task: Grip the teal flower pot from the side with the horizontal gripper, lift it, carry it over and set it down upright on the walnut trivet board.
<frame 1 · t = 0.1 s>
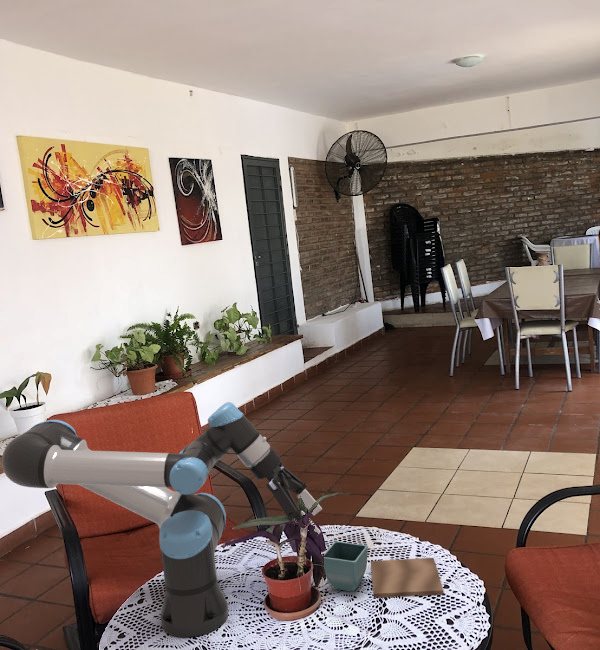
hand: (317, 523, 163), 15 cm above the table, tool tilted 35°, fingers open, 13 cm apart
flower pot: (347, 586, 162), on the table
walnut trivet: (405, 578, 163), on the table
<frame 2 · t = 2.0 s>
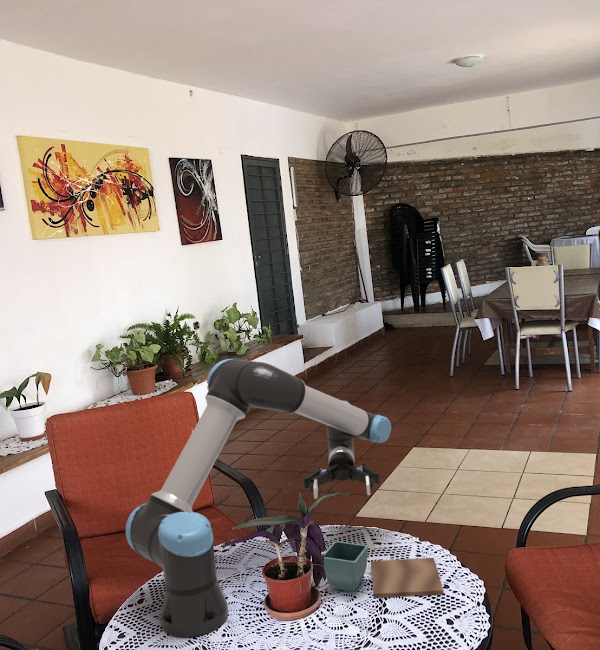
hand: (341, 491, 172), 19 cm above the table, tool horizontal, fingers open, 13 cm apart
nothing on the table moved.
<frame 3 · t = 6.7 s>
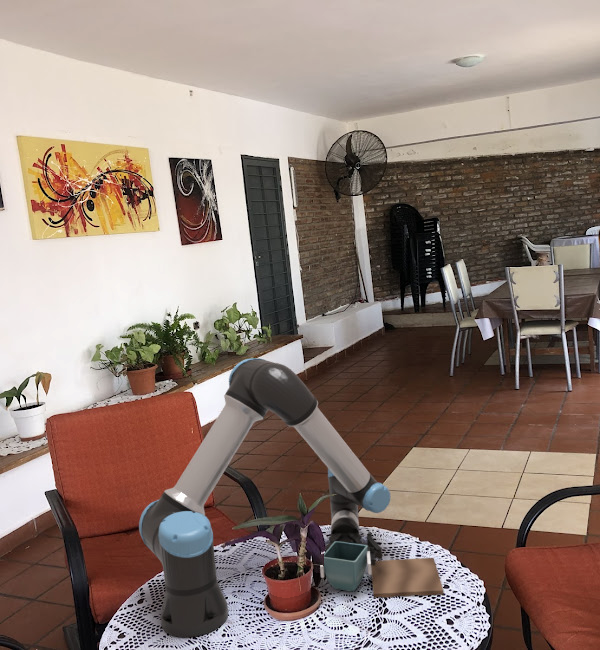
hand: (345, 570, 158), 6 cm above the table, tool horizontal, fingers closed on flower pot, 10 cm apart
flower pot: (347, 586, 162), on the table, touching gripper
when the fingers open (8 cm above the table, at t = 12.1 s): flower pot drops 1 cm, resting on walnut trivet.
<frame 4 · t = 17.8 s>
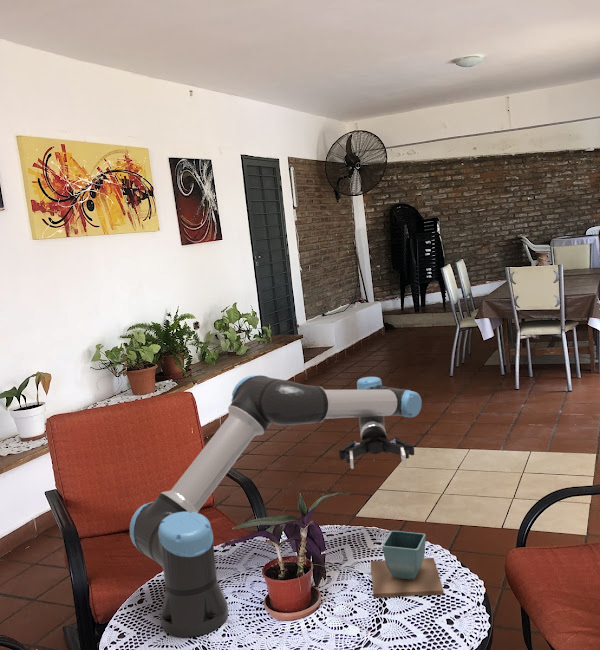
hand: (378, 462, 174), 25 cm above the table, tool horizontal, fingers open, 13 cm apart
flower pot: (406, 575, 163), point 1 cm above the table, touching walnut trivet
at the end: flower pot inside the target area on the walnut trivet (0.4 cm from its centre), point 0.8 cm above the walnut trivet's base; flower pot tilted 0°; the gripper is holding nothing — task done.
